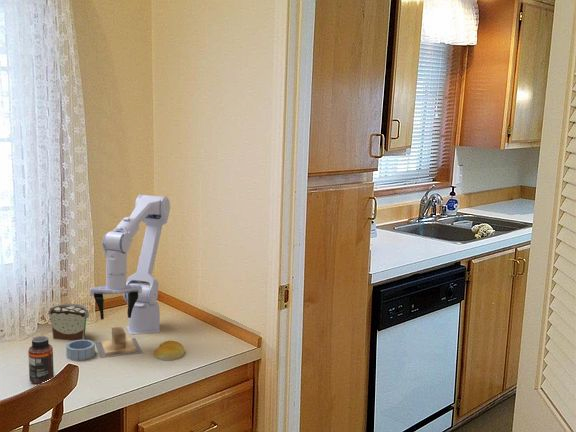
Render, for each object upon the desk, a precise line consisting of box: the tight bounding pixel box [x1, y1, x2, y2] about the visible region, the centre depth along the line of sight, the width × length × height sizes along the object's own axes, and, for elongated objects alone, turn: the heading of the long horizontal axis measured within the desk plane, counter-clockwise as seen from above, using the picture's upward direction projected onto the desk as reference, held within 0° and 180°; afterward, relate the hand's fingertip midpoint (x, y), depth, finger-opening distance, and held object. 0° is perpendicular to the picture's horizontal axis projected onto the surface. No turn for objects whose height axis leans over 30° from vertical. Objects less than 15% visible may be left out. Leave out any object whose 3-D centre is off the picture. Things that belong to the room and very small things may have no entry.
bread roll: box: [153, 340, 185, 361], centre depth 178 cm, size 8×9×4 cm
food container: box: [47, 303, 90, 341], centre depth 187 cm, size 12×6×10 cm, turn 84°
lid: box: [100, 326, 137, 355], centre depth 180 cm, size 9×9×5 cm
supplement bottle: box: [27, 335, 55, 385], centre depth 158 cm, size 6×6×11 cm
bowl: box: [65, 338, 96, 362], centre depth 174 cm, size 8×8×4 cm
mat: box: [94, 337, 144, 359], centre depth 181 cm, size 12×12×1 cm
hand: (115, 317), depth 179 cm, fingers open, 7 cm apart
